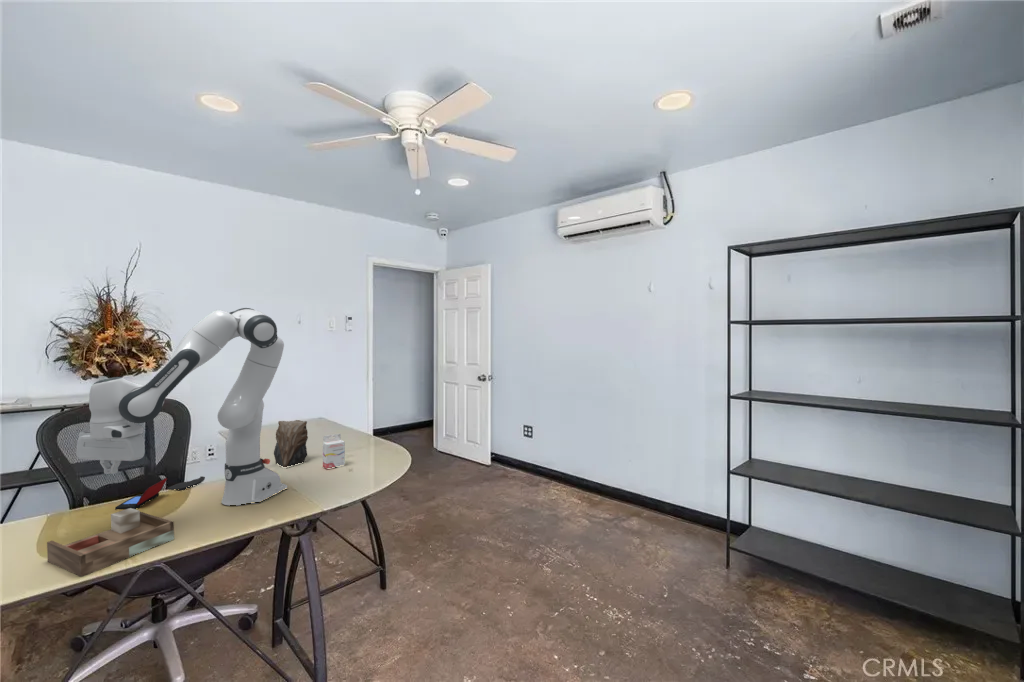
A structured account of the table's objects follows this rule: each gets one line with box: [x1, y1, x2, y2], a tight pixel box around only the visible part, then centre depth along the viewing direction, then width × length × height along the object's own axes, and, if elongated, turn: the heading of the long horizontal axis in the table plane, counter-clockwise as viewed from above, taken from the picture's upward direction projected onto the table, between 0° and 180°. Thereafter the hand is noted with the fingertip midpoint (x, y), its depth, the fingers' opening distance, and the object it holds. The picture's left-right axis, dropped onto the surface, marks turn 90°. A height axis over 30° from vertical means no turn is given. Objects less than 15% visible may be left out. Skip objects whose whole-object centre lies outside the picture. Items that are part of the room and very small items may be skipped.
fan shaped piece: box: [167, 476, 206, 491], centre depth 183 cm, size 8×14×2 cm, turn 164°
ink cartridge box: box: [322, 433, 346, 470], centre depth 205 cm, size 9×5×15 cm, turn 133°
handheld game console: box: [115, 477, 168, 510], centre depth 164 cm, size 12×11×7 cm
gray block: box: [110, 508, 141, 533], centre depth 137 cm, size 5×5×5 cm
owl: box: [273, 419, 309, 467], centre depth 210 cm, size 13×13×20 cm
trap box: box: [46, 511, 175, 578], centre depth 130 cm, size 22×18×6 cm
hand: (111, 473), depth 139 cm, fingers closed
